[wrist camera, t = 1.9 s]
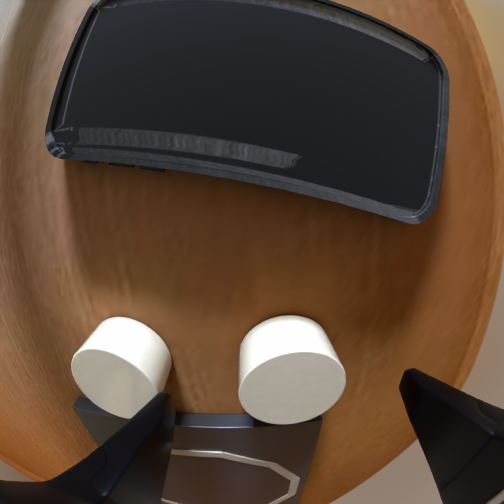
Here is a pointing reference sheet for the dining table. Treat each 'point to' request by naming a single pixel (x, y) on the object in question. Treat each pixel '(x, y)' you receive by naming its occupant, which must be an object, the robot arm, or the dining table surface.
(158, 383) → the cream round box
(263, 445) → the slate
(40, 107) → the dining table surface
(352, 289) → the dining table surface
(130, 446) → the robot arm
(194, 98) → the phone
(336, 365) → the white round puck
